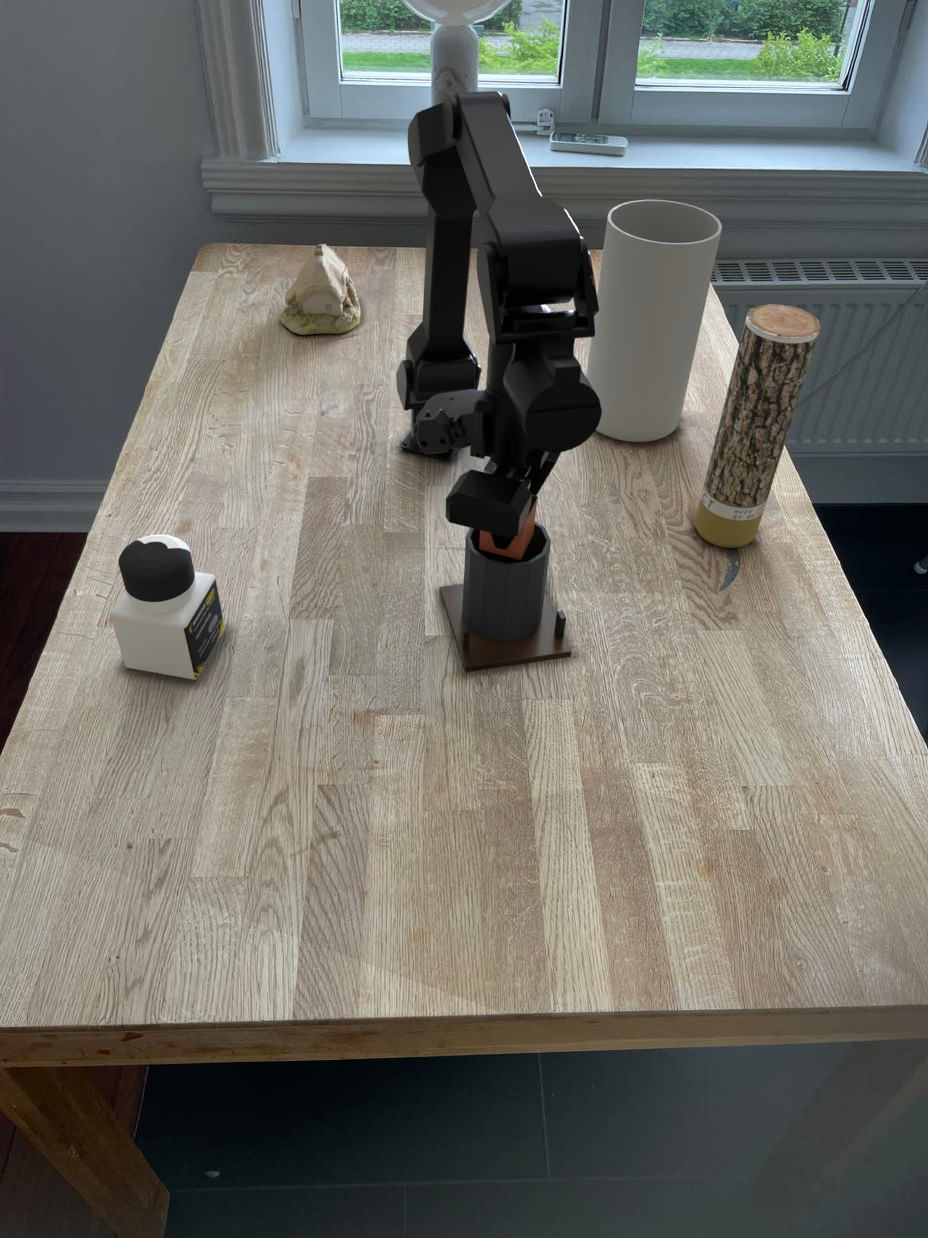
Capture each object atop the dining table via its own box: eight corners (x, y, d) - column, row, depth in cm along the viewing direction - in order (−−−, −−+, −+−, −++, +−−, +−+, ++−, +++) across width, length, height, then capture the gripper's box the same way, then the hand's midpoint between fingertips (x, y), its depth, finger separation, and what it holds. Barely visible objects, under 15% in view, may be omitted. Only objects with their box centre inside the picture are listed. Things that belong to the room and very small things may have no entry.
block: (492, 524, 91) (495, 489, 89) (533, 534, 90) (537, 500, 88) (478, 549, 89) (481, 514, 86) (520, 560, 88) (524, 525, 85)
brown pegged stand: (439, 592, 99) (439, 567, 96) (537, 579, 101) (540, 554, 98) (465, 672, 91) (466, 647, 89) (570, 657, 93) (574, 631, 90)
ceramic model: (357, 338, 137) (354, 269, 130) (277, 335, 137) (270, 266, 130) (365, 293, 147) (363, 227, 140) (291, 291, 147) (285, 224, 140)
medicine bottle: (197, 682, 89) (175, 584, 81) (124, 668, 90) (94, 570, 81) (226, 629, 94) (208, 531, 86) (157, 617, 95) (132, 519, 86)
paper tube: (758, 520, 109) (823, 312, 92) (751, 557, 105) (818, 344, 88) (698, 507, 111) (751, 299, 94) (688, 542, 106) (742, 329, 89)
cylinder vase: (568, 430, 122) (594, 230, 104) (596, 384, 130) (624, 192, 113) (666, 454, 118) (709, 252, 101) (688, 405, 127) (731, 211, 110)
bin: (455, 593, 98) (458, 518, 91) (528, 583, 99) (536, 509, 93) (473, 646, 92) (478, 570, 86) (550, 635, 94) (560, 559, 87)
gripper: (466, 313, 86) (460, 460, 97) (383, 418, 73) (387, 574, 84) (587, 338, 84) (567, 485, 95) (524, 451, 71) (509, 607, 82)
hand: (508, 533), depth 89 cm, fingers closed on block, 4 cm apart
